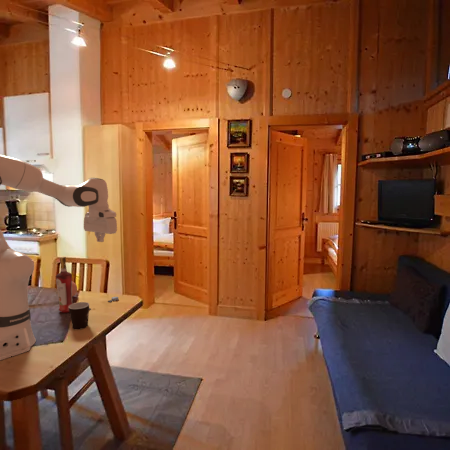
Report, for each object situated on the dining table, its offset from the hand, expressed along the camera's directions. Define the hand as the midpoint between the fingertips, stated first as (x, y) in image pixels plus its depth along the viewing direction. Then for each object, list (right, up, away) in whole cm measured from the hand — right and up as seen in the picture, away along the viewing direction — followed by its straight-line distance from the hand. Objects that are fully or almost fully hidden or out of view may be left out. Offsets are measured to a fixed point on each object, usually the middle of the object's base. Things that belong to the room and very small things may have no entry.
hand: (100, 241), depth 157 cm
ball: (-30, -29, +30) cm, 51 cm away
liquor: (-22, -36, +11) cm, 44 cm away
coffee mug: (-6, -38, -5) cm, 39 cm away
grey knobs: (-8, -35, +19) cm, 40 cm away
